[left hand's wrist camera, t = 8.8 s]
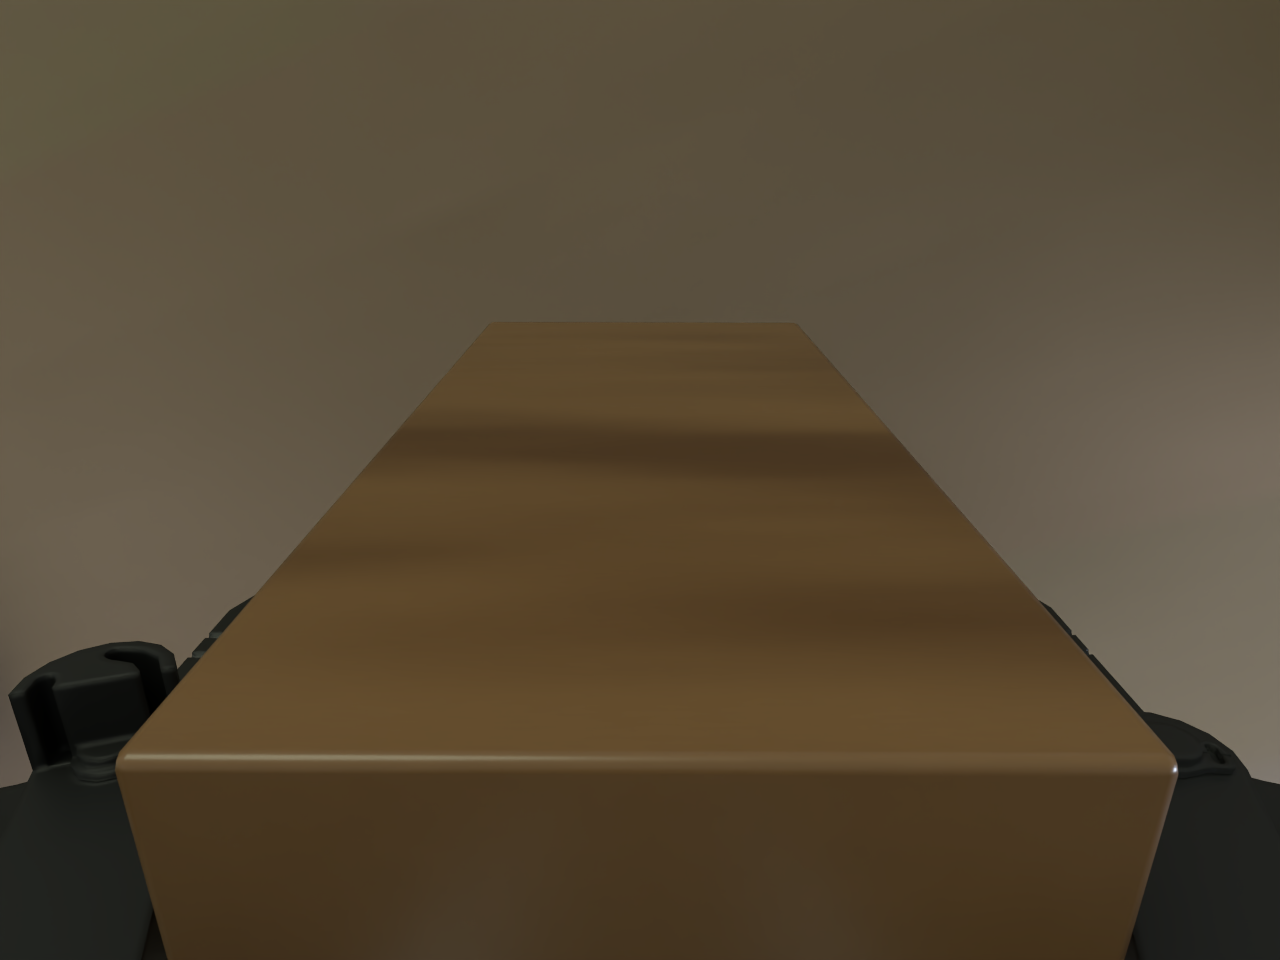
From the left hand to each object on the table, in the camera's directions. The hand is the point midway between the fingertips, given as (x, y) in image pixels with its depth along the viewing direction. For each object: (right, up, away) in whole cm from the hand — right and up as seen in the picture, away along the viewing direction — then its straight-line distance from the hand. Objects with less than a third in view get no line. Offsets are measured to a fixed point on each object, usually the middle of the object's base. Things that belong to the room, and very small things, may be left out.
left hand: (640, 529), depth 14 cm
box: (0, -6, +6) cm, 8 cm away
